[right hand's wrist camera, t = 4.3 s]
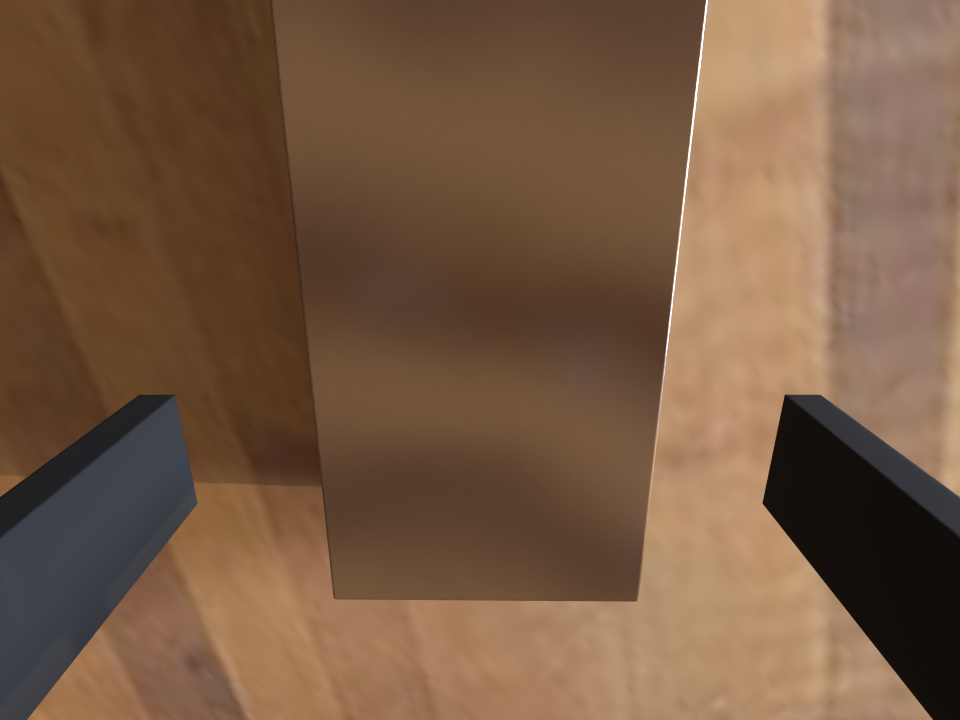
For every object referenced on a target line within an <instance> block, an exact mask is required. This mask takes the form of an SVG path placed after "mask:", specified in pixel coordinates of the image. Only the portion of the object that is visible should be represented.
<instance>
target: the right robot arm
mask: <svg viewBox="0 0 960 720" xmlns="http://www.w3.org/2000/svg"><path fill="white" fill-rule="evenodd" d="M196 505H197V499H196V494H195V489H194V484H193V479H192V474H191V470H190V465H189V460H188V455H187V450H186V445H185V440H184V435H183V431H182V426H181V421H180V416H179V411H178V406H177V401H176V397H175V395H139V396H137V397H136V398H135V399H133V400H132V401H131V402H129V403H128V404H126V405H125V406H124V407H122V408H121V409H120V410H118V411H117V412H116V413H114V414H113V415H111V416H110V417H109V418H107V419H106V420H105V421H103V422H102V423H101V424H99V425H98V426H96V427H95V428H94V429H92V430H91V431H90V432H88V433H87V434H86V435H84V436H83V437H81V438H80V439H79V440H77V441H76V442H75V443H73V444H72V445H71V446H69V447H68V448H66V449H65V450H64V451H62V452H61V453H60V454H58V455H57V456H56V457H54V458H53V459H51V460H50V461H49V462H47V463H46V464H45V465H43V466H42V467H41V468H39V469H38V470H36V471H35V472H34V473H32V474H31V475H30V476H28V477H27V478H26V479H24V480H23V481H22V482H20V483H19V484H17V485H16V486H15V487H13V488H12V489H11V490H9V491H8V492H7V493H5V494H4V495H2V496H1V497H0V720H27V719H28V718H29V716H30V715H31V714H32V713H33V711H34V710H35V709H36V708H37V706H38V705H39V704H40V702H41V701H42V700H43V699H44V697H45V696H46V695H47V694H48V692H49V691H50V690H51V689H52V687H53V686H54V685H55V683H56V682H57V681H58V680H59V678H60V677H61V676H62V675H63V673H64V672H65V671H66V670H67V668H68V667H69V666H70V664H71V663H72V662H73V661H74V659H75V658H76V657H77V656H78V654H79V653H80V652H81V650H82V649H83V648H84V647H85V645H86V644H87V643H88V642H89V640H90V639H91V638H92V637H93V635H94V634H95V633H96V631H97V630H98V629H99V628H100V626H101V625H102V624H103V623H104V621H105V620H106V619H107V618H108V616H109V615H110V614H111V612H112V611H113V610H114V609H115V607H116V606H117V605H118V604H119V602H120V601H121V600H122V598H123V597H124V596H125V595H126V593H127V592H128V591H129V590H130V588H131V587H132V586H133V585H134V583H135V582H136V581H137V579H138V578H139V577H140V576H141V574H142V573H143V572H144V571H145V569H146V568H147V567H148V565H149V564H150V563H151V562H152V560H153V559H154V558H155V557H156V555H157V554H158V553H159V552H160V550H161V549H162V548H163V546H164V545H165V544H166V543H167V541H168V540H169V539H170V538H171V536H172V535H173V534H174V533H175V531H176V530H177V529H178V527H179V526H180V525H181V524H182V522H183V521H184V520H185V519H186V517H187V516H188V515H189V513H190V512H191V511H192V510H193V508H194V507H195V506H196ZM763 505H764V506H765V507H766V508H767V510H768V511H769V512H770V513H771V515H772V516H773V517H774V519H775V520H776V521H777V522H778V524H779V525H780V526H781V527H782V529H783V530H784V531H785V533H786V534H787V535H788V536H789V538H790V539H791V540H792V541H793V543H794V544H795V545H796V546H797V548H798V549H799V550H800V552H801V553H802V554H803V555H804V557H805V558H806V559H807V560H808V562H809V563H810V564H811V565H812V567H813V568H814V569H815V571H816V572H817V573H818V574H819V576H820V577H821V578H822V579H823V581H824V582H825V583H826V585H827V586H828V587H829V588H830V590H831V591H832V592H833V593H834V595H835V596H836V597H837V598H838V600H839V601H840V602H841V604H842V605H843V606H844V607H845V609H846V610H847V611H848V612H849V614H850V615H851V616H852V618H853V619H854V620H855V621H856V623H857V624H858V625H859V626H860V628H861V629H862V630H863V631H864V633H865V634H866V635H867V637H868V638H869V639H870V640H871V642H872V643H873V644H874V645H875V647H876V648H877V649H878V650H879V652H880V653H881V654H882V656H883V657H884V658H885V659H886V661H887V662H888V663H889V664H890V666H891V667H892V668H893V670H894V671H895V672H896V673H897V675H898V676H899V677H900V678H901V680H902V681H903V682H904V683H905V685H906V686H907V687H908V689H909V690H910V691H911V692H912V694H913V695H914V696H915V697H916V699H917V700H918V701H919V702H920V704H921V705H922V706H923V708H924V709H925V710H926V711H927V713H928V714H929V715H930V716H931V718H932V719H933V720H960V497H959V496H958V495H956V494H955V493H953V492H952V491H951V490H949V489H948V488H947V487H945V486H944V485H943V484H941V483H940V482H938V481H937V480H936V479H934V478H933V477H932V476H930V475H929V474H928V473H926V472H925V471H923V470H922V469H921V468H919V467H918V466H917V465H915V464H914V463H913V462H911V461H910V460H909V459H907V458H906V457H904V456H903V455H902V454H900V453H899V452H898V451H896V450H895V449H894V448H892V447H891V446H889V445H888V444H887V443H885V442H884V441H883V440H881V439H880V438H879V437H877V436H876V435H874V434H873V433H872V432H870V431H869V430H868V429H866V428H865V427H864V426H862V425H861V424H859V423H858V422H857V421H855V420H854V419H853V418H851V417H850V416H849V415H847V414H846V413H844V412H843V411H842V410H840V409H839V408H838V407H836V406H835V405H834V404H832V403H831V402H829V401H828V400H827V399H825V398H824V397H823V396H821V395H785V397H784V401H783V406H782V411H781V416H780V421H779V426H778V431H777V435H776V440H775V445H774V450H773V455H772V460H771V465H770V470H769V474H768V479H767V484H766V489H765V494H764V499H763Z"/></svg>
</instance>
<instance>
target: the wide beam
mask: <svg viewBox="0 0 960 720" xmlns="http://www.w3.org/2000/svg"><path fill="white" fill-rule="evenodd" d="M707 4H708V0H270V6H271V16H272V25H273V34H274V44H275V53H276V62H277V72H278V81H279V90H280V100H281V109H282V119H283V128H284V137H285V147H286V156H287V165H288V175H289V184H290V193H291V203H292V212H293V222H294V231H295V240H296V250H297V259H298V268H299V278H300V287H301V296H302V306H303V315H304V325H305V334H306V343H307V353H308V362H309V371H310V381H311V390H312V399H313V409H314V418H315V428H316V437H317V446H318V456H319V465H320V474H321V484H322V493H323V502H324V512H325V521H326V531H327V540H328V549H329V559H330V568H331V577H332V587H333V596H334V599H369V600H511V601H638V598H639V590H640V581H641V573H642V564H643V555H644V547H645V538H646V530H647V521H648V512H649V504H650V495H651V487H652V478H653V469H654V461H655V452H656V443H657V435H658V426H659V418H660V409H661V400H662V392H663V383H664V375H665V366H666V357H667V349H668V340H669V331H670V323H671V314H672V306H673V297H674V288H675V280H676V271H677V263H678V254H679V245H680V237H681V228H682V219H683V211H684V202H685V194H686V185H687V176H688V168H689V159H690V151H691V142H692V133H693V125H694V116H695V107H696V99H697V90H698V82H699V73H700V64H701V56H702V47H703V39H704V30H705V21H706V13H707Z"/></svg>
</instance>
